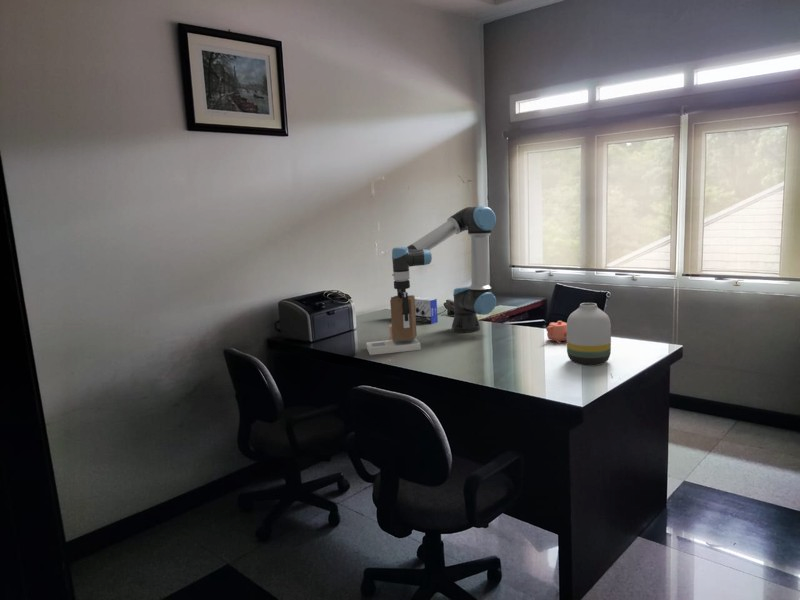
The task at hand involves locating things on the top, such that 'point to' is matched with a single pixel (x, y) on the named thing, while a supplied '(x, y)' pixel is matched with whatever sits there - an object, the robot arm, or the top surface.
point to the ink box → (426, 310)
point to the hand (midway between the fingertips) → (404, 325)
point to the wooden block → (397, 319)
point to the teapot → (557, 331)
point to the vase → (588, 335)
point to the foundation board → (392, 346)
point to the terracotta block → (390, 332)
